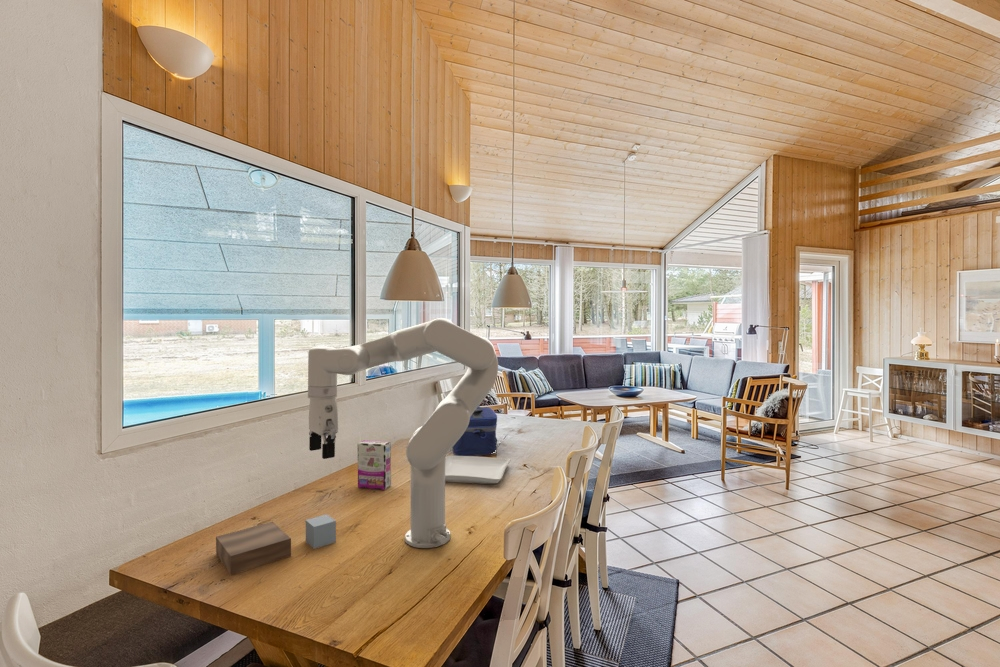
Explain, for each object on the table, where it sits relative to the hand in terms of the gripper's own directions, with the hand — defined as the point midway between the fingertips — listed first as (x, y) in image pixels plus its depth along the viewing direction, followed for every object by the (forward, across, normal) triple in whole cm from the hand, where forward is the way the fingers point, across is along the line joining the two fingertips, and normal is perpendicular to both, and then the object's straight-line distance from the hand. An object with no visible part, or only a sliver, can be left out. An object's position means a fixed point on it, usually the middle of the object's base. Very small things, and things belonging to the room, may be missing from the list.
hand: (321, 453), depth 134 cm
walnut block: (+25, +3, +16) cm, 30 cm away
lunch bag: (+24, +50, -91) cm, 107 cm away
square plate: (+24, +19, -67) cm, 74 cm away
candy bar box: (+24, +30, -31) cm, 49 cm away
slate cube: (+24, -1, 0) cm, 24 cm away
